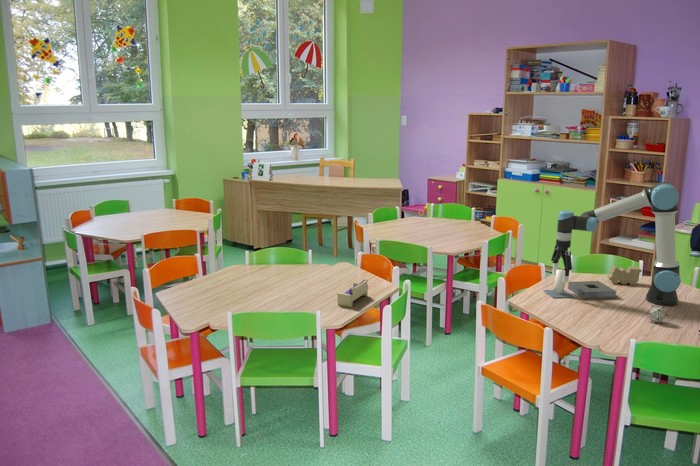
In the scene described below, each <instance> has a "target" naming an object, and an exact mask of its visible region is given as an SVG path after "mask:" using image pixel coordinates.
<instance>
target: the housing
mask: <svg viewBox="0 0 700 466" xmlns="http://www.w3.org/2000/svg"><path fill="white" fill-rule="evenodd" d="M567 283H568V284H567V289H568V290H570V291H571V292H572V293H574V294H576V295H577V296H578V297H579V298H581V299H583V300H596V299H597V300H602V299H604V300H605V299H616V296H617V291H616V290H615V289H614V288H611V287H610V286H608V285H606V284H604V283H603V282H601V281H599V280H587V281H582V280H581V281H568V282H567Z"/></svg>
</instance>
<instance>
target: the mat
mask: <svg viewBox="0 0 700 466" xmlns="http://www.w3.org/2000/svg"><path fill="white" fill-rule="evenodd" d="M542 291H543V292H544V293H545V292H546V293H545V294H546V295H548V296H549V295H550V296H549V297H550V298H552V299H568V298H569V299H573V298H575V296H574V295H573V294H571V293H570V292H568V291H567V290H565V289H564V294H563V295H557V294H555V293H554V289H543V290H542Z"/></svg>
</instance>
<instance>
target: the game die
mask: <svg viewBox="0 0 700 466" xmlns="http://www.w3.org/2000/svg"><path fill="white" fill-rule="evenodd" d="M664 308H665V307H664V306H662V307H657V306H653V305H651V308H650V310H649V312H647V313H646V315H648V317H649V319H650V323H652V322H653V323H661V325H663V324H664V323H663V322H664V320H665V319H666V317H668V314H666V312H665V310H664Z"/></svg>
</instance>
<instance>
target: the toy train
mask: <svg viewBox="0 0 700 466" xmlns="http://www.w3.org/2000/svg"><path fill="white" fill-rule="evenodd" d="M609 271H610V272H609V273H608V274H607V275H606V278H607V279H608V281H610V282H611V283H612V284H613V285H618V283H621V284H622V285H627V284H629V285H630V286H636V285H637V284H638V283H639V280H640V273H641V272H642V269H641V268H640V267H639V266H633V265H632V266H631V265H630V266H629V265H628V266H627V268H626V269H624V268H623V267H619V268H618V267H617V265H612V267H611V269H610V270H609Z"/></svg>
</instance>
